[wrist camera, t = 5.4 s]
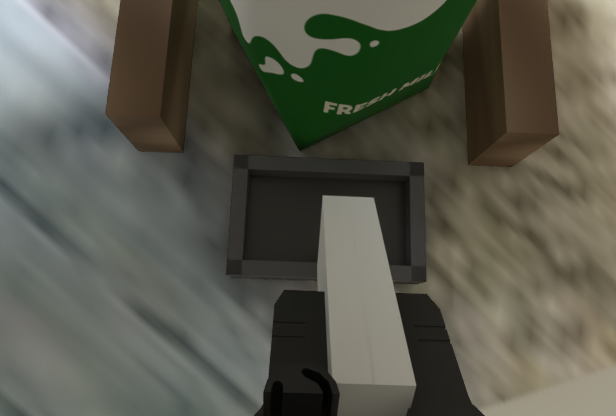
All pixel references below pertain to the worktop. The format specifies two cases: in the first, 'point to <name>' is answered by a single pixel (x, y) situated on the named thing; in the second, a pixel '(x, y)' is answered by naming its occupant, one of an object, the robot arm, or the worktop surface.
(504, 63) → the channel
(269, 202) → the pit tray
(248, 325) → the worktop surface
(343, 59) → the soya milk
